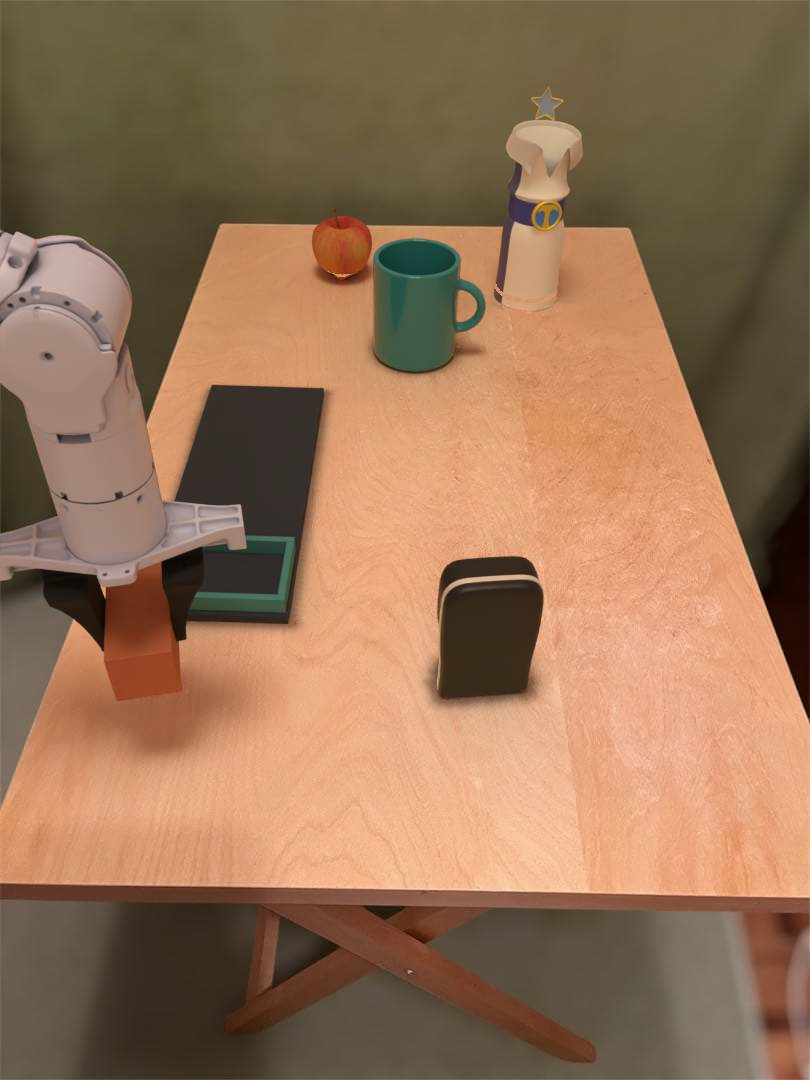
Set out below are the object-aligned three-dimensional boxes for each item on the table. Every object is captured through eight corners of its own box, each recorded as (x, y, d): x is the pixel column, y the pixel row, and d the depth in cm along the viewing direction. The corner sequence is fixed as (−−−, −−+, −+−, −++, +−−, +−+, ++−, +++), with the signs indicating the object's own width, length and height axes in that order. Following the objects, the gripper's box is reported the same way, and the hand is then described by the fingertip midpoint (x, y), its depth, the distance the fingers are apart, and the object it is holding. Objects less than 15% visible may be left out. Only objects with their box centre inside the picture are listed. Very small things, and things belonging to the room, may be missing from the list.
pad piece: (116, 702, 57) (103, 661, 54) (117, 609, 63) (105, 568, 60) (181, 691, 58) (171, 650, 55) (176, 601, 63) (168, 560, 61)
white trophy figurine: (572, 309, 109) (609, 85, 92) (504, 315, 108) (528, 89, 91) (549, 277, 115) (579, 61, 98) (484, 283, 114) (503, 65, 97)
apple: (337, 294, 111) (335, 231, 105) (301, 272, 115) (298, 210, 109) (384, 277, 114) (384, 214, 109) (347, 256, 118) (346, 195, 113)
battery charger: (520, 653, 70) (538, 544, 62) (530, 693, 67) (550, 584, 59) (429, 659, 69) (436, 550, 61) (436, 700, 66) (444, 591, 59)
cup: (480, 378, 98) (489, 281, 90) (369, 371, 98) (369, 274, 91) (481, 335, 104) (490, 241, 97) (377, 329, 105) (377, 235, 97)
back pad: (288, 623, 71) (286, 603, 70) (140, 619, 71) (135, 599, 70) (324, 394, 95) (323, 375, 93) (212, 390, 95) (209, 371, 93)
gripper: (-50, 536, 46) (21, 701, 55) (240, 500, 48) (262, 664, 58) (-32, 452, 51) (30, 616, 60) (230, 424, 53) (251, 586, 63)
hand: (144, 634), depth 59 cm, fingers closed on pad piece, 4 cm apart
